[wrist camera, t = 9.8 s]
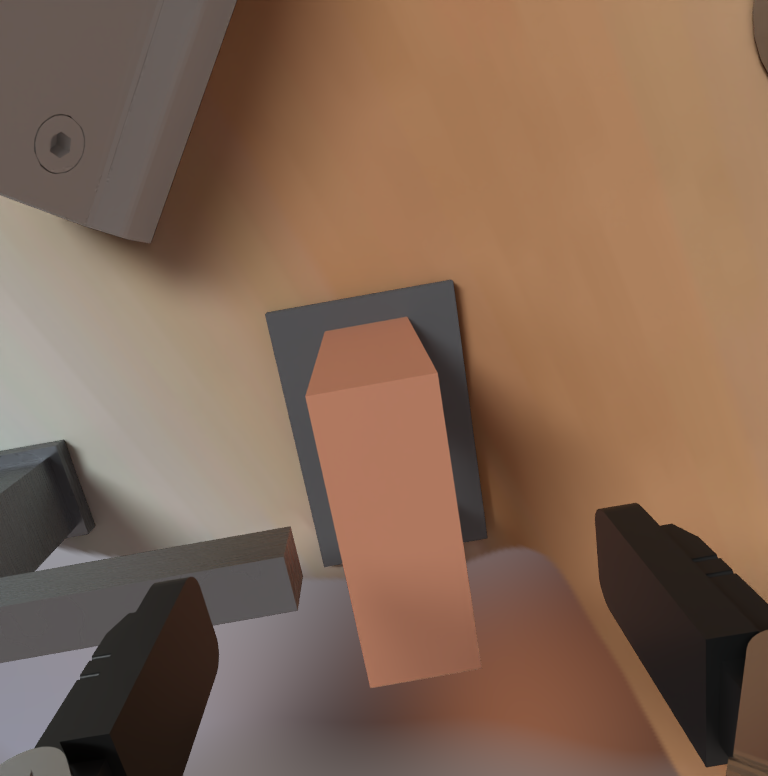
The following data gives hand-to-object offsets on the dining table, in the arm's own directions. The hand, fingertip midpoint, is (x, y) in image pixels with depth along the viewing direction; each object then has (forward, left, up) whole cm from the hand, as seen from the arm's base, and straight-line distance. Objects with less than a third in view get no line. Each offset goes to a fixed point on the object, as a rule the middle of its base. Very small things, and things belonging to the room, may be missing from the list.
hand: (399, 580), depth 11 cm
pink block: (0, +3, -17) cm, 17 cm away
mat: (0, +3, -18) cm, 18 cm away
